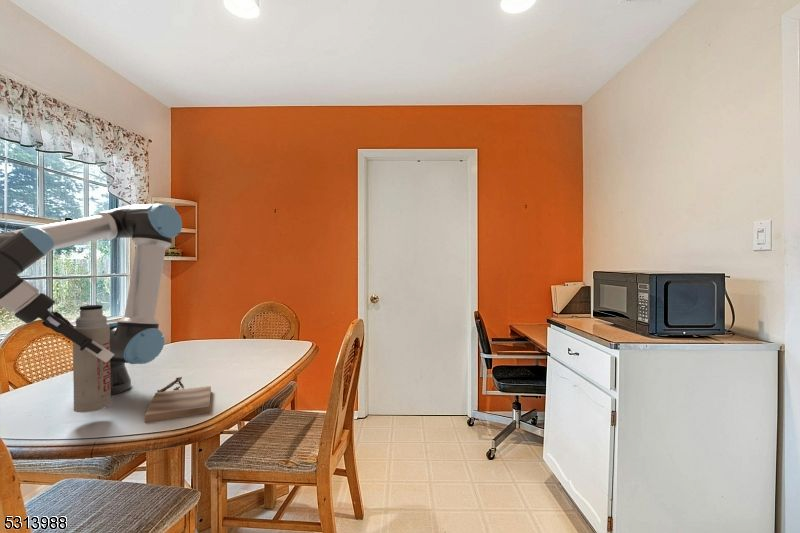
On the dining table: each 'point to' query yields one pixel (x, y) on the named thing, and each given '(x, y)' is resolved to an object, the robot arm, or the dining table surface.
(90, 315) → the thermos bottle
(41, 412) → the dining table surface
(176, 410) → the walnut board
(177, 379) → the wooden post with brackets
